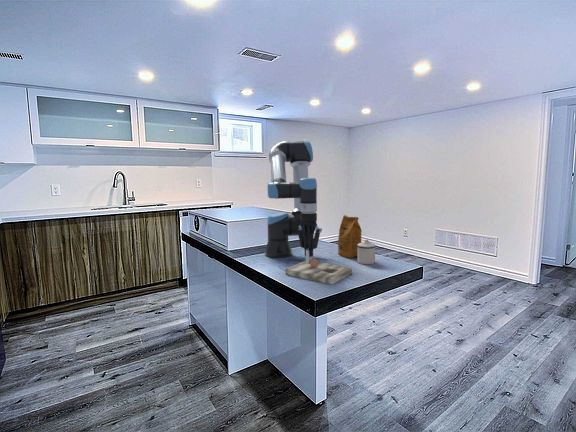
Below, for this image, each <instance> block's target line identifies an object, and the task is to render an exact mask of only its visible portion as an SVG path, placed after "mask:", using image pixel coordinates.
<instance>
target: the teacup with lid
mask: <svg viewBox="0 0 576 432" xmlns="http://www.w3.org/2000/svg"><path fill="white" fill-rule="evenodd" d="M357 247H358V248H357V251H358V256H356V257H357V263H359V264H361V265H374V264H375V263H376V247H377V245H376V244H375V243H372V242H370V241H369V239H364V241H361V243H359V244H358V245H357Z"/></svg>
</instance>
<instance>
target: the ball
mask: <svg viewBox="0 0 576 432" xmlns="http://www.w3.org/2000/svg"><path fill="white" fill-rule="evenodd" d="M319 262H320V261H318V259H316V258H312V260H311V261H310V265H311V267H313V268H316V267H318V265H319Z"/></svg>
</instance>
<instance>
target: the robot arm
mask: <svg viewBox="0 0 576 432" xmlns="http://www.w3.org/2000/svg"><path fill="white" fill-rule="evenodd" d="M268 161H269V163H270V174H271V175H270V176H271V179H270V181H271V182H269V183H267V197H268V199H276V200H278V199H293V202H294V203H293V205H294V206H293V207H294V209H293V210H292V211H291V214H289V213H288V212H277V213H272V214H269V215H268V217H267V223H266V224H267V244H266V247H265V249H264V255H265V256H266V255H267V256H266V257H268V256H269V258H287V257H289V256H292V255H293V249H292V248H291V245H290V241H289V237H290V236H291V237H297V236H298V239H299V244H300V247H301V248H302V249H303V250H304V256H305V261H306V264H310V261H311V260H312V259H313V257H314V250H316V249H317V248H318V245H319V239H320V236H321V233H322V230H323V229H322V228H320V227H319V226H318V223H317V221H318V220H317V219H318V213H317V212H318V205H317V204H318V201H317V199H318V198H317V197H318V192H317V191H318V190H317V189H318V182H317V178H311V177H309V166H311V162H313V161H314V152H313V147H312V144H311V141H308V140H284V141H280V142H278V143H276V144H275V145H273V147H271V150H270V151H269V153H268ZM286 163H289V165H290V167H292V173H293V174H292V176H293V177H292V179H293V181H292V182H288V181H287V173H286V172H287V171H286ZM291 254H292V255H291Z"/></svg>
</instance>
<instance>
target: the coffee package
mask: <svg viewBox="0 0 576 432" xmlns="http://www.w3.org/2000/svg"><path fill="white" fill-rule="evenodd" d="M338 230H339V231H338V238H337V247H338V248H337V250H338V251H337V252H338V253H337V254H338V255H339V256H342V257H345V258H349V259H353V258H354V257H358V251H357V248H358V247H357V245H358V244H359V243H362V228H361V226H360V223H359V217H358V216H348V215H346V214H344V215H343V216H342V219H341V223H340V227H339V229H338Z"/></svg>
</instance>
